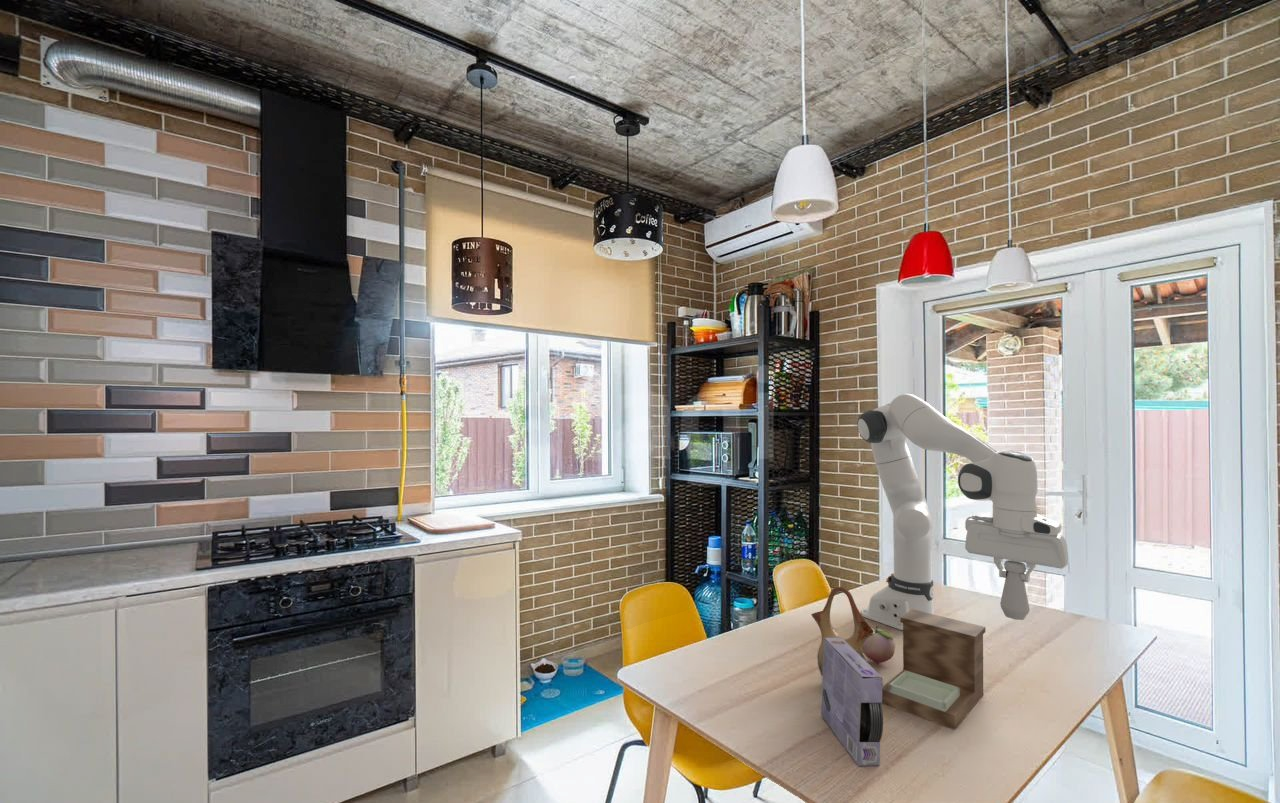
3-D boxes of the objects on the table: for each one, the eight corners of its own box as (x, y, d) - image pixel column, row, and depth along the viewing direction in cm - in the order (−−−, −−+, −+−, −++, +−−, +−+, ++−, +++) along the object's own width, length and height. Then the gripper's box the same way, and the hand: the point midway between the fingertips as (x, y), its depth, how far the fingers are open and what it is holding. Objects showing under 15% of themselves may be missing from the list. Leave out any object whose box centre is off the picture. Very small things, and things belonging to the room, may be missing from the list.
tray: (888, 692, 130) (888, 684, 130) (905, 677, 137) (905, 670, 137) (945, 712, 122) (945, 703, 122) (959, 695, 129) (959, 687, 129)
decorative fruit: (900, 663, 152) (900, 625, 152) (889, 673, 146) (889, 634, 146) (865, 652, 158) (865, 617, 158) (854, 662, 152) (853, 625, 152)
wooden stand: (878, 701, 132) (878, 631, 132) (912, 671, 147) (912, 609, 147) (957, 730, 120) (957, 654, 120) (985, 694, 135) (985, 627, 135)
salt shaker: (1034, 622, 129) (1035, 565, 129) (1008, 620, 130) (1008, 564, 130) (1020, 612, 135) (1021, 558, 135) (995, 611, 136) (995, 557, 136)
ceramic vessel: (801, 682, 141) (801, 582, 141) (822, 672, 147) (822, 575, 147) (863, 709, 128) (863, 599, 129) (883, 697, 134) (882, 591, 134)
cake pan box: (885, 770, 107) (885, 676, 107) (860, 771, 106) (860, 677, 107) (841, 715, 126) (841, 635, 126) (819, 716, 126) (819, 636, 126)
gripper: (961, 515, 138) (961, 572, 138) (1064, 529, 123) (1064, 592, 123) (969, 512, 142) (968, 567, 142) (1069, 525, 128) (1069, 586, 128)
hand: (1014, 579), depth 133 cm, fingers closed on salt shaker, 3 cm apart
